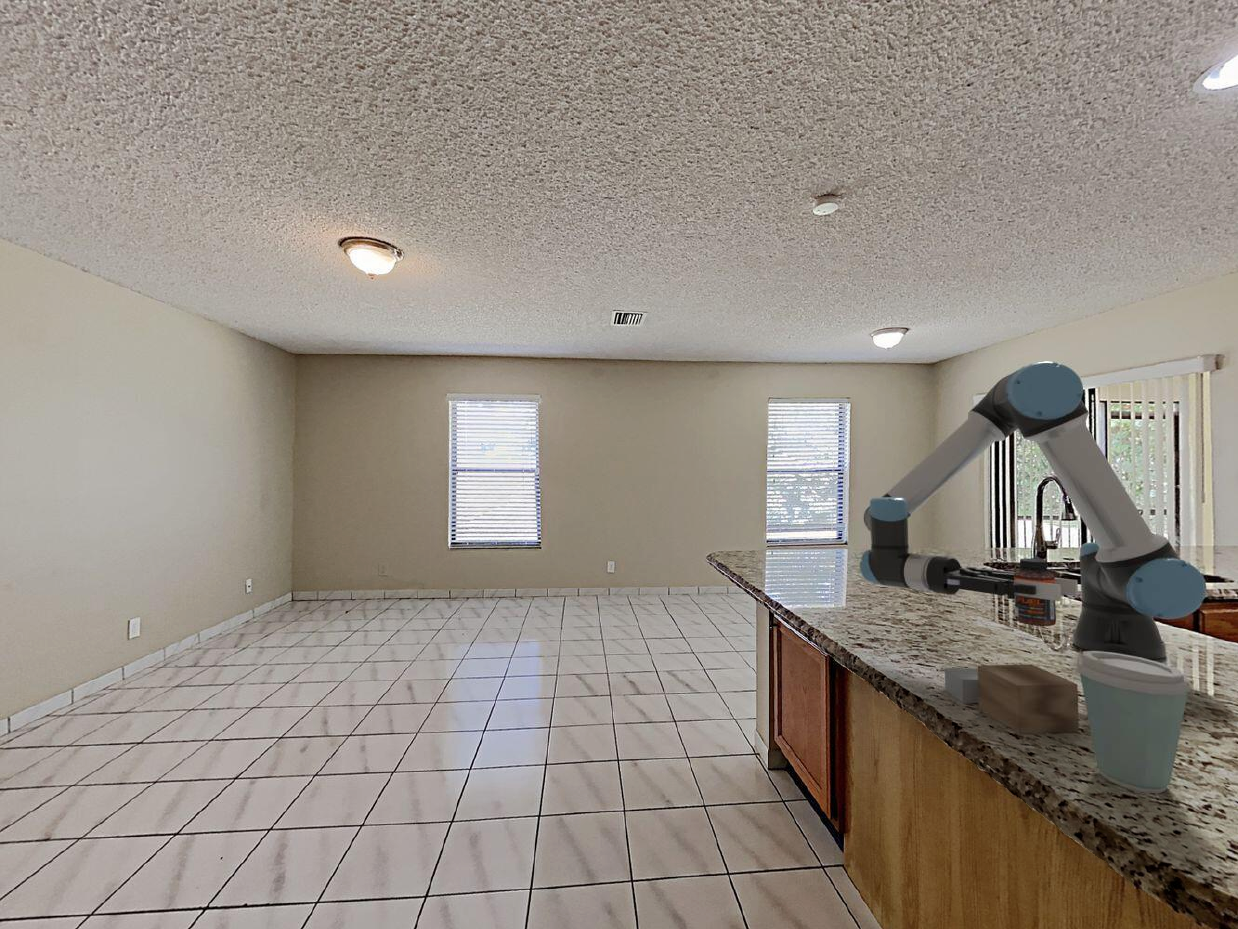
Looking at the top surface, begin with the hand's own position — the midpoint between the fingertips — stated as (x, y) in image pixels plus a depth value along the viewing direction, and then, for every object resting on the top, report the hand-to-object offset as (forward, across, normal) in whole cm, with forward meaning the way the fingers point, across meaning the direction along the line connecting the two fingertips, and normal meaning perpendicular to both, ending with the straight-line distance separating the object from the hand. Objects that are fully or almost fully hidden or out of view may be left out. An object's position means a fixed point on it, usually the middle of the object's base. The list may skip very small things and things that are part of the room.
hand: (1068, 590), depth 98 cm
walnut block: (0, +17, -18) cm, 25 cm away
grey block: (-10, +14, -18) cm, 25 cm away
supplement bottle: (-5, 0, -7) cm, 9 cm away
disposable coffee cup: (+16, +26, -18) cm, 35 cm away
